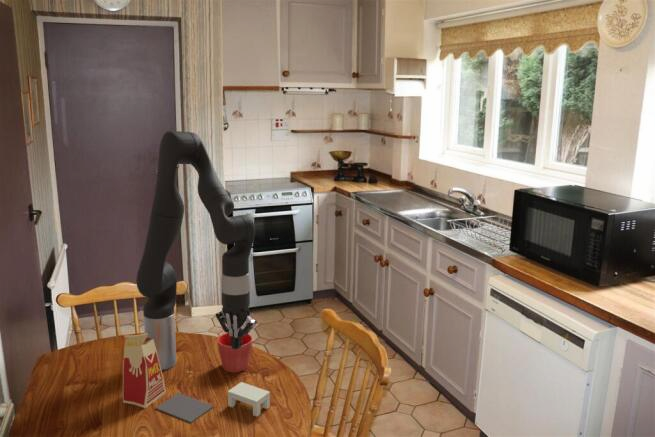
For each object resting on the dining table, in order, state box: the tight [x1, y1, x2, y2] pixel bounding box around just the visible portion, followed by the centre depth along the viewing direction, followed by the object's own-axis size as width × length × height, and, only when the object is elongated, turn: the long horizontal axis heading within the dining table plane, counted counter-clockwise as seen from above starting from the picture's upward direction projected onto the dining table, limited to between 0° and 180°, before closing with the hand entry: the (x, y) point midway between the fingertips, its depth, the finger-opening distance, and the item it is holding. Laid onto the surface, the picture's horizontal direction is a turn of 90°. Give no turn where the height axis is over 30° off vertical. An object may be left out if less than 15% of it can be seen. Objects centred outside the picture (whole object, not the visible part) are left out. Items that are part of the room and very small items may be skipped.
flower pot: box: [216, 332, 254, 373], centre depth 181 cm, size 11×11×10 cm
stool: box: [227, 381, 271, 418], centre depth 159 cm, size 5×6×10 cm
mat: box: [154, 392, 215, 424], centre depth 158 cm, size 13×9×1 cm
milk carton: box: [122, 333, 167, 409], centre depth 161 cm, size 9×9×20 cm
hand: (236, 348), depth 158 cm, fingers closed
